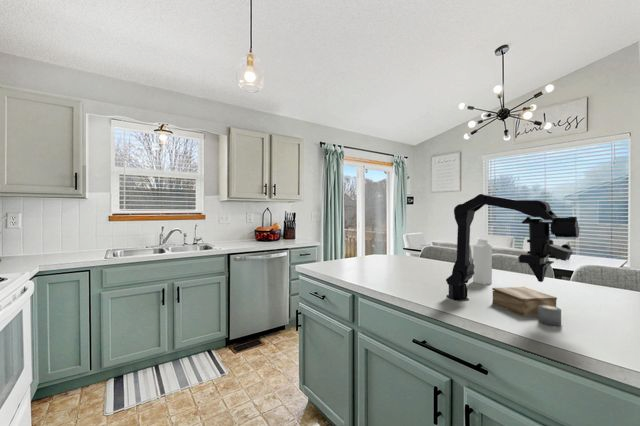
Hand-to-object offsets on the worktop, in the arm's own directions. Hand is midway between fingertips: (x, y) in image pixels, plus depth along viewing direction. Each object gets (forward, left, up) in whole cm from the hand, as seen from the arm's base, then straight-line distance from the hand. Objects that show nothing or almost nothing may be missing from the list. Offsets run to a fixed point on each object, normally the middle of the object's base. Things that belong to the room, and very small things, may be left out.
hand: (540, 281), depth 102 cm
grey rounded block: (-1, -5, -13) cm, 13 cm away
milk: (+13, +46, -13) cm, 50 cm away
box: (+2, +9, -13) cm, 16 cm away
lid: (+2, +9, -7) cm, 12 cm away
